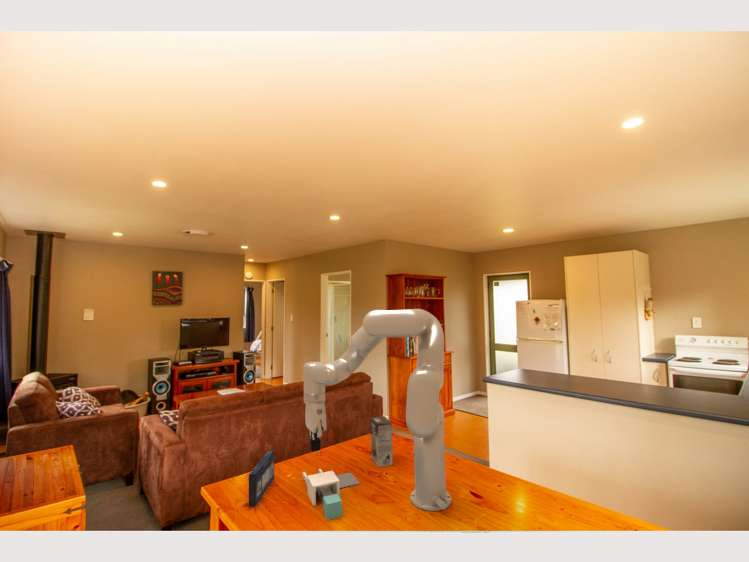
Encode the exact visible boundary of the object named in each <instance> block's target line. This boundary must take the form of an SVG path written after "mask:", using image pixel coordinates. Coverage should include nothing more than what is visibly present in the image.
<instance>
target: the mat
mask: <svg viewBox="0 0 749 562" xmlns="http://www.w3.org/2000/svg"><path fill="white" fill-rule="evenodd" d="M336 476H337V478H338V479H339V481H340V488H342V489H345V488H344V487H346V488H349V487H348V486H350V487H354V486H353V485H355V486H358V485H360V484H361V483H360V482H359V480H358V479H357V478H356V476H355V475H354V474H353V473H352V472H347V473H342V474H337V475H336Z"/></svg>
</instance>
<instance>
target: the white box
mask: <svg viewBox="0 0 749 562" xmlns="http://www.w3.org/2000/svg"><path fill="white" fill-rule="evenodd" d="M303 478H304V479H303ZM302 479H303V481H304V480H305V481H304V483H305V482H306V483H305V485H306V484H307V485H306V487H307V490H306V491H307V496H308V495H309V496H308V498H309V497H310V498H309V500H310V499H311V500H310V502H311V505H312V506H313V507H315V506H316V505H317V500H316V499H317V498H316V497H317V493H316V487H321V486H325V485H328V486H329V488H331V489H330V490H332V493H334V494H338V495H339V497H340V496H341V492H340V491H341V489H340V481H339V479H338V478H337V475H336V473H335V472H334V470H330V471H329V470H328V471H324V472H323V470H322V469H321V468H318V473H315V474H309V475H307V473H306V471H302ZM334 494H333V495H334ZM340 498H341V497H340ZM314 505H315V506H314Z"/></svg>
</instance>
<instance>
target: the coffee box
mask: <svg viewBox="0 0 749 562" xmlns="http://www.w3.org/2000/svg"><path fill="white" fill-rule="evenodd" d="M369 420H370V447H371V448H370V453H371V454H370V455H371V459H372V460H373V462H374V463H375V465H376V466H377V467H378V468H380V466H381V467H387V465H388V466H392V464H394V463H393V462H394V461H393V423H392V421H390V420H389V419H388V418H387V417H386V416H385V415H383V416H373V417H370V418H369Z"/></svg>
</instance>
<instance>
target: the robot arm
mask: <svg viewBox="0 0 749 562" xmlns="http://www.w3.org/2000/svg"><path fill="white" fill-rule="evenodd" d="M414 337H417V338H418V343H417V353H416V355H417V356H416V357H417V358H416V359H417V360H416V367H415V370H413V371H412V372H411V374H410V375H409V378H408V383H407V389H406V407H405V423H406V425H407V429H408V431H409V432H410V433H411V434H412V435H413V459H414V460H413V462H414V464H413V465H414V490H412V492H411V494H410V502H411V503H412V505H414V506H415V507H416V508H418V509H421V510H424V511H429V512H431V511H434V512H436V511H441V510H442V511H443V510H444V511H445V510H446V509H447V508H448V507H450V505H451V503H452V496H451V494H450V493H449V492H448V490H447V487H446V466H445V465H446V463H445V412H444V411H445V410H444V407H443V405H442V403H441V401H439V400H440V391H441V389H442V388H443V386H444V380H445V379H444V375H445V373H444V367H445V365H444V364H445V335H444V330H443V326H442V324H441V323H440V321H439V320H438V319H437V317H436V316H435V315H433V314H432V313H430V312H429V311H427V310H425V309H422V308H412V309H410V308H409V309H390V310H389V309H388V310H387V309H373V310H370V311H369V312H368V313H366V315H365V316H364V317H363V320H362V325H361V326H360V328H358V329H357V331H356V332H355V333H354V334H353V335H352V336H351V337H350V339H349V340H350V344H349V347H348V348H347V349H346V351H344V352H343V354H342V355H341V356H340V357H338V358H337V359H336V360H333V361H331V362H327V363H324V362H321V361H308V362H306V363H304V365H303V368H302V369H303V403H304V404H305V409H304V410H305V417H304V418H305V427H306V428H307V429H308V431H309V438H310V439H309V441H310V443H309V445H310V451H311V452H312V453H313V452H319V451H321V447H322V446H321V439H322V437H323V432H326V431H327V429H328V427H327V415H326V414H327V412H326V405H325V402H326V386H334V385H336V384H339V383H340V382H343V381H345V380H346V379H348V378H349V377H350V376H351V375H352V374H353V373H354V372H355V371H356V370H357V369H358V368H359V367H360V366H361V365H362V364H363V363H364V361H365V360H366V359H367V358H368V356H369V355H370V354H371V353H372V352H373V351H374V350H375V349H376V348H377V347H378V346H379V345H380V343H382V342H383V341H384V339H386V338H414ZM322 431H323V432H322Z"/></svg>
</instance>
